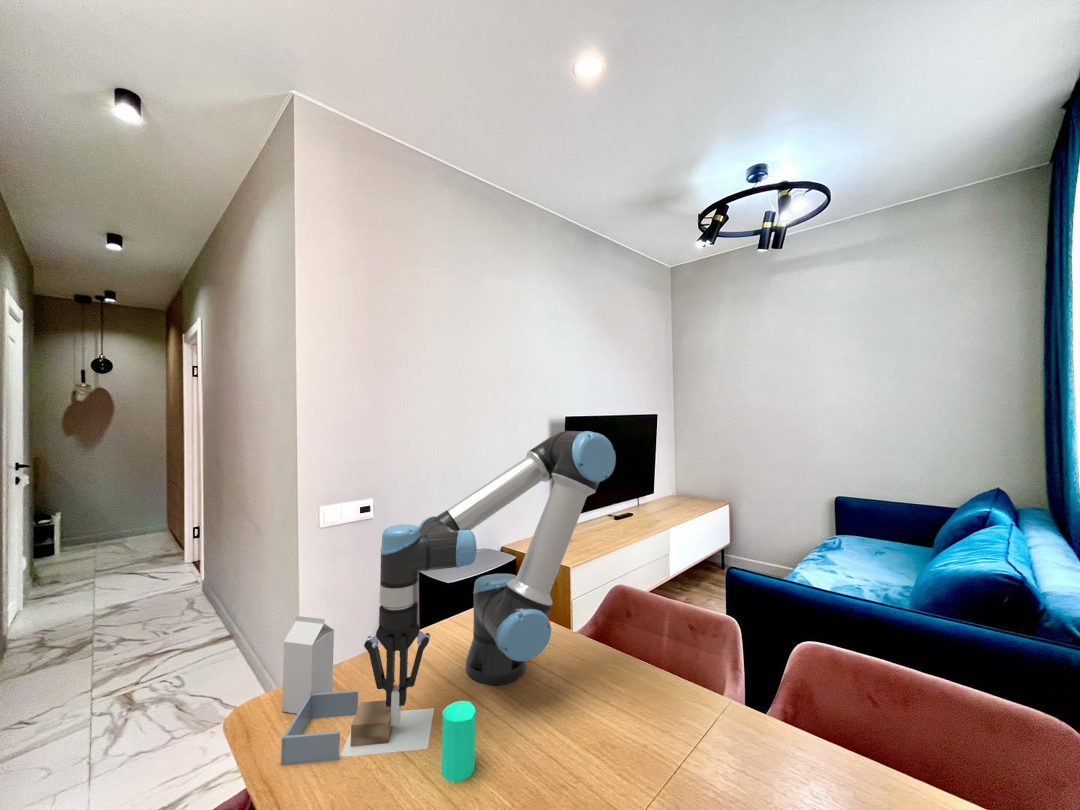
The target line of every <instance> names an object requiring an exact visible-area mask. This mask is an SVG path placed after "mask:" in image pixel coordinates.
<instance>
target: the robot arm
mask: <svg viewBox="0 0 1080 810" xmlns="http://www.w3.org/2000/svg"><path fill="white" fill-rule="evenodd" d="M525 455H526V456H525V458H523V459H522V460H520V461H518V462H517V463H516V464H514V465H512V466H511V467H509V468H508V469H507V470H505V471H503V472H502V473H500V475H497V476H496V477H495V478H493V479H491V480H490V481H489V482H487V483H486V484H484V485H482V486H481V487H478V489H476V490H475V491H473V492H472V493H471V494H469V495H467V496H466V497H464V498H463V499H462V500H460V501H458V502H457V503H455V504H454V505H453V506H451V507H450V508H448V509H446V510H445V511H443V512H442V513H440V514H438V515H437V516H434V515H433V516H428V517H426V518H425V519H423V520H422V521H421V523H420V524H419V525H417V524H410V523H409V524H402V523H401V524H394V525H391V526H388V527H387V528H385V529H383V532H382V538H381V545H380V546H381V548H380V574H379V575H380V579H379V580H380V582H379V604H380V605H379V608H378V609H379V611H378V615H379V616H378V628H377V630H376V631H375V632H376V633H375V634H373V635H372V636H371V635H370V636H367V638H366V640H365V642H364V644H363V645H364V648H365V650H366V651H367V653H368V654H369V655H368V656H369V659H370V664H371V667H372V672H373V673H372V674H373V677H374V682H375V686H376V689H377V690H384V691H385V700H386V706H387V707H391V726H398V725H399V721H400V717H401V711H402V709H401V707H404V706H405V705H406V702H407V695H408V694H407V691H408V690H407V689H408V688H413V687H414V686H415V684H416V680H417V677H418V672H419V670H420V665H421V661H422V657H423V655H424V654H423V653H424V650H425V649H426V647H427V646H428V644H429V643H430V639H431V634H430V633H428V632H426V633H424V632H422V631H421V630H420V629H421V628H420V625H419V623H418V617H419V616H418V614H419V613H418V607H419V603H418V599H419V573H420V572H428V571H436V570H444V569H446V570H447V569H453V568H461V567H465V566H470V565H472V564H473V563H474V562H475V560H476V557H477V549H478V548H477V547H478V546H477V540H476V536H475V534H474V532H473V531H472V530H473V529H474V528H476V527H477V526H479V525H481V523H483V522H485V521H486V520H488V519H489V518H490V517H492V516H494V515H495V514H496V513H498V512H499V511H500V510H502V509H504V508H505V507H506V506H508V505H509V504H511V503H512V502H514V501H515V500H516V499H518V498H520V497H521V496H522V495H524V494H525V493H527V492H528V491H529V490H531V489H532V488H534V487H536V486H537V485H538V484H539V483H541V482H544V483H546V482H549V481H551V479H553V486H552V488H551V491H550V493H549V496H548V499H547V501H546V503H545V506H544V508H543V510H542V513H541V516H540V518H539V520H538V523H537V526H536V528H535V530H534V533H533V535H532V537H531V540H530V542H529V546H528V548H527V550H526V552H525V555H524V557H523V560H522V562H521V565H520V567H519V570H518V572H517V575H516V574H512V573H493V574H492V573H491V574H487V575H482V576H480V577H478V578H477V579H475V581H474V586H473V592H472V594H473V633H472V634H473V637H472V641H471V644H470V647H469V651H468V652H467V653H468V654H467V657H466V659H465V672H466V675H467V676H468V678H469V679H471V680H473V681H474V682H476V683H479V684H482V685H488V686H499V685H500V686H501V685H505V684H508V683H512V682H514V681H516V680H518V679H519V678H520V677H521V676H522V675H523V674H524V672H525V669H526V661H530V660H532V659H533V658H534V657H535V658H536V657H538V656H539V655H540V654H541V653H542V652H543V651H544V650H545V648H546V647H547V646H548V645H549V642H550V640H551V634H552V626H551V622H550V621H551V620H550V619H549V615H550V612H551V609H552V607H553V600H552V597H551V592H552V591H551V590H552V588H553V586H554V583H555V581H556V578H557V575H558V573H559V570H560V568H561V565H562V562H563V560H564V557H565V555H566V552H567V551H568V550H567V549H568V547H569V544H570V541H571V539H572V536H573V534H574V531H575V529H576V527H577V523H578V520H579V519H580V515H581V514H582V510H583V508H584V506H585V503H586V500H587V497H590V496H591V495H593V494H596V492H597V489H598V486H599V485H600V482H603V481H605V480H606V479H608V478H609V477H610V476H611V475H612V474H613V472H614V470H615V467H616V460H617V457H616V451H615V449H614V447H613V444H612V442H611V441H610V439H608V437H606V436H605V435H603V434H601V433H599V432H594V431H591V430H590V431H589V430H585V431H578V430H574V431H573V430H564V431H560V432H559V431H558V432H557V433H555V434H553V435H551V436H550V437H548V438H547V439H545V440H543V441H542V442H540V443H539V444H538V445H536V446H535V447H532V448H531V449H530V450H528V451H527V453H526V454H525ZM416 639H417V640H416ZM415 640H416V644H417V645H418V647H417V650H416V654H415V659H414V661H413V664H412V665H413V666H412V668H411V672H410V676H408V668H409V667H408V664H409V663H408V662H409V661H408V660H409V659H408V657H409V654H408V653H409V648H410V647H411V645H413V643H414V641H415ZM379 643H380V644H381V645H382V646H383V648H384V649H385V650H386V655H385V657H386V668H385V669H386V670H385V672H384V668H383V667H384V666H383V663H382V662H383V661H382V658H381V653H380V649H379ZM397 651H398V652H399V677H398V678H399V681H398V682H399V683H397V684H395V681H396V680H395V671H396V670H395V669H396V668H395V667H396V664H395V662H396V652H397ZM385 673H386V674H385ZM385 675H386V676H385Z"/></svg>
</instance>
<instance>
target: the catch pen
mask: <svg viewBox="0 0 1080 810" xmlns="http://www.w3.org/2000/svg"><path fill="white" fill-rule="evenodd" d="M358 708H359V690H344V691H332V692H328V693H314V694H309V696H308V697H307V699H306V700H305V702H304V704H303V705H302V707H301V708H300V710H299V712H298V713H297V714H296V715H295V717H294V718H293V720H291V723H290V725H289V726H288V727H287V729H286V731H285V732H284V733H283V736H282V737H281V749H280V750H281V751H280V753H281V755H280V766H286V765H287V766H288V765H297V764H308V763H309V764H310V763H319V762H331V761H339V760H340V744H341V742H340V741H341V740H340V739H341V731H339V730H338V731H329V732H327V731H326V732H315V733H304V731H305V730H306V728H307V727H308V724H309V722H310V721H311V719H320V718H322V719H323V718H333V717H334V718H335V717H346V716H347V717H348V716H355V715H356V713H357V710H358ZM303 733H304V734H303Z"/></svg>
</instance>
